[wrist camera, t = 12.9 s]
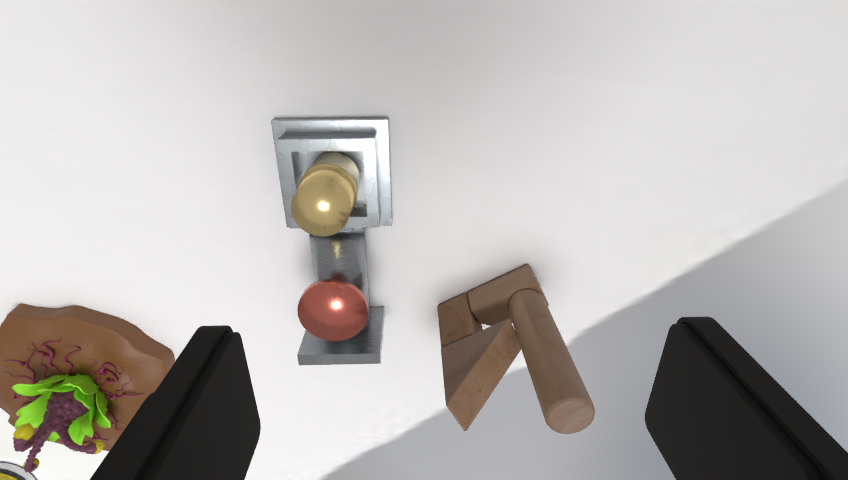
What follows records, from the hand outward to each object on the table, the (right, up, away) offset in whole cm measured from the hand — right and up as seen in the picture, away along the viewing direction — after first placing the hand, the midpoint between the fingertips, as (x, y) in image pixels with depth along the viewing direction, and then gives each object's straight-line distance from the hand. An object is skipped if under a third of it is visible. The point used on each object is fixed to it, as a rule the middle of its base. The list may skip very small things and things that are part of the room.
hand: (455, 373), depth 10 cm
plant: (-39, -13, +43) cm, 59 cm away
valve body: (-9, +4, +35) cm, 36 cm away
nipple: (-9, +9, +31) cm, 34 cm away
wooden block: (+6, -3, +39) cm, 40 cm away
